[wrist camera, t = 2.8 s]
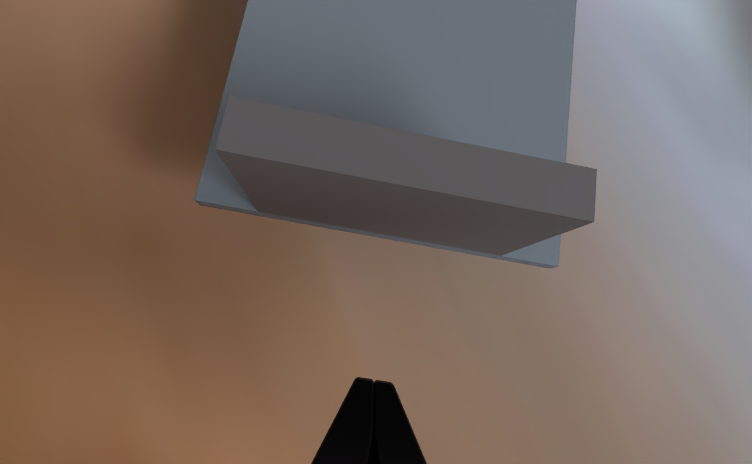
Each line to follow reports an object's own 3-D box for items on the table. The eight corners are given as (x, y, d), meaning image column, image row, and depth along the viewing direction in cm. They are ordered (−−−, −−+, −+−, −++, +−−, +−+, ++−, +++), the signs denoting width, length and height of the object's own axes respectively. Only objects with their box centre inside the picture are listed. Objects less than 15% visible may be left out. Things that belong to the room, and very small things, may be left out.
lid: (549, 268, 14) (681, 238, 9) (200, 204, 14) (112, 129, 8) (573, -60, 17) (682, -231, 12) (288, -128, 17) (267, -345, 11)
